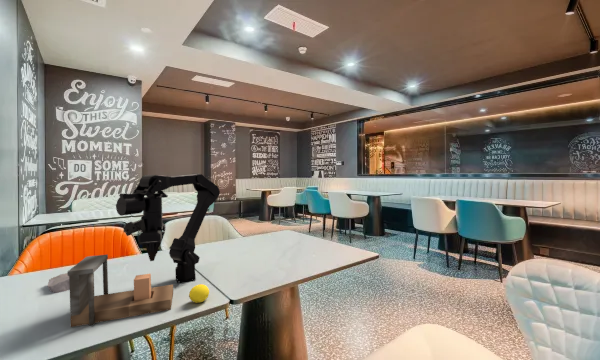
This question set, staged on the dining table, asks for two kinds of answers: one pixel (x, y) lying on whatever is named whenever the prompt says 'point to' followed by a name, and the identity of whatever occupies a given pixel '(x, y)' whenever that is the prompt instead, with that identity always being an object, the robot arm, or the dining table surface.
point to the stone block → (59, 283)
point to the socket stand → (108, 296)
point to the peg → (142, 287)
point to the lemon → (199, 293)
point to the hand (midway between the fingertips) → (153, 256)
